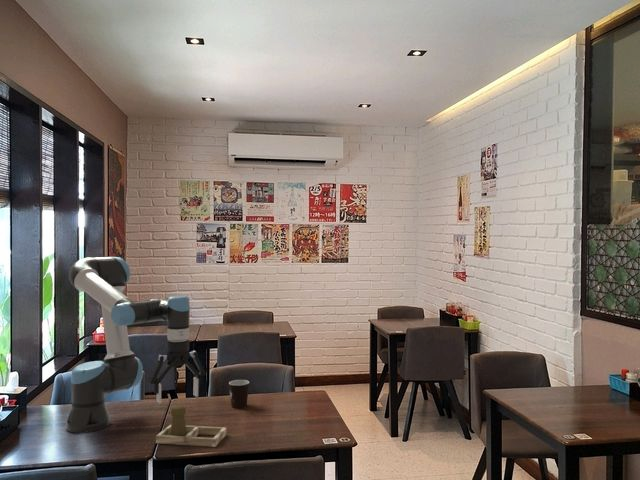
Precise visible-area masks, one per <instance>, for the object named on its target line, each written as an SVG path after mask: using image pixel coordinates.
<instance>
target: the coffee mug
mask: <svg viewBox="0 0 640 480" xmlns="http://www.w3.org/2000/svg"><path fill="white" fill-rule="evenodd" d="M228 387H229V397H230V407H231V408H233V409H239V410H240V409H245V408H246V407H247V406H248V405H247V404H248V396H249V388H250V381H249V380H247V379H235V380H231V381H229V382H228Z"/></svg>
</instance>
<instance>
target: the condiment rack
mask: <svg viewBox="0 0 640 480" xmlns="http://www.w3.org/2000/svg"><path fill="white" fill-rule="evenodd" d="M171 424H172V423H171ZM171 424H169V425H168V426H167V427H165V428H164V429H163V430H162V431H160V432H158V433H157V435H155V444H166V445H178V446H179V445H180V446H181V445H182V446H196V447H211V448H213V447H214V448H215V447H217V446H218V445H219V443H220V442H221V441H222V440H223V439H224V438H225V437H226V436H227V427H222V426H205V425H204V426H203V425H188V424H186V432H187V435H186V436H172V435H170V432H171ZM198 435H206V436H207V435H208V436H209V435H211V436H214V437H204V436H203V437H201V436H198Z"/></svg>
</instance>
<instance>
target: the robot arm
mask: <svg viewBox="0 0 640 480" xmlns="http://www.w3.org/2000/svg"><path fill="white" fill-rule="evenodd" d="M130 277H131V270H130V267H129V264H128V263H127V261H126V260H125V259H123V258H122V257H119V256H118V257H117V256H107V257H105V256H101V257H98V256H97V257H84V258H81V259H78V260H76V261H75V262H74V263H73V264H72V265H71V267H70V269H69V273H68V279H69V282H70V283H71V285H72V286H73V287H74V289H76V290H77V291H79V292H82V293H86V294H87V295H89V296H90V297H91V298H92V299H93V300H94V301H96V302H97V303H99V304H100V306H101V315H102V322H103V323H102V324H103V329H104V330H103V331H104V338H105V345H106V346H105V347H106V353H107V354H106V355H105V357H104V358H103V360H94V361H87V362H84V363H81V364H79V365H77V366H75V367H74V368H73V369H72V372H71V378H70V386H71V408H70V412H69V415H68V416H67V420H66V423H65V424H66V425H65V426H66V431H67V432H70V433H75V434H76V433H77V434H78V433H79V434H83V433H91V432H96V431H100V430H102V429H105V428H107V427H108V426H109V425H110V424H111V417H110V414H109V411H108V407H107V406H106V395H108V394H113V393H116V392H121V391H124V390H125V391H128V390H129V389H131V388H134V387H136V386H138V385H139V384H140V382H141V380H142V378H143V373H144V372H143V371H144V368H143V363H142V361H141V360H140V358H138V357H136V356H135V355H136V354H135V353H134V352H133V351H132V350H131V348H130V340H129V334H128V333H129V332H128V331H129V330H128V326H131V325H137V324H144V323H151V322H159V321H163V322H167V335H166V337H167V341H166V344H167V345H166V346H167V347H166V348H167V349H166V351H167V353H166V354H165V355H162V354H158V355H157V362H156V363H155V366H154V368H153V369H152V372H151V374H150V377H149V378H148V383H150V384H152V385H153V393H154V394H155V396H156V403H157V404H162V384H161V382H162V381H163V379H164V378H165V376H166V375H167V374H168V373H169V371H170V370H171V369H172V368H174V367H175V368H177V367H179V366H180V367H184V365H185V366H186V367H187V369H188V370H190V372H192V374H193V375H194V377H193V391H192V392H193V393H192V394H193V396H194V397H196V398H197V397H199V387H201V380H202V378H203V377H204V376H206V374H207V373H206V370H205V369H204V367H203V364H202V363H201V361H200V358H199V355H198V354H199V353H198V351H196V350H192V351H190V340H189V339H190V313H191V311H190V310H191V307H190V298H189V297H188V296H187V295H172V296H168V299H162V298H152V299H149V300H146V301H133V300H132V299H130V298H129V297H128V296H126V295H125V294H123V292H124V291H125V289H126V285H127V283H129V281H130ZM190 357H191V358H192V359H193V362H194V363H195V366H196V367H197V369H196V368H195V366H193V364H192V363H191V362H190V361H189V359H190ZM166 360H167V362H166V363H165V365H164V366H163V364H164V362H165V361H166ZM162 367H163V368H162ZM161 368H162V370H161Z"/></svg>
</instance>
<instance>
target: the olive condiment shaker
mask: <svg viewBox="0 0 640 480" xmlns="http://www.w3.org/2000/svg"><path fill="white" fill-rule="evenodd" d="M186 413H187V408H186V407H185V406H184V405H181V404H180V405H175V406H172V407H171V409H170V415H171V416H172V417H171V418H172V419H171V432H170V435H172V436H186V435H187V432H186V425H187V424H186V418H185V415H186Z"/></svg>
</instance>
